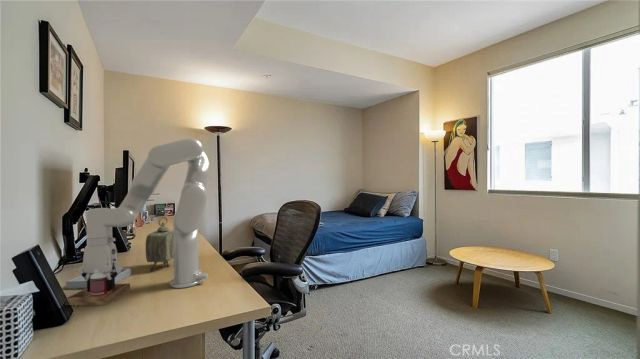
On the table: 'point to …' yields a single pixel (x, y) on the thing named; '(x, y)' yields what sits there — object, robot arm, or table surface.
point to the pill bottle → (98, 284)
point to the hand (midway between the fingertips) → (101, 289)
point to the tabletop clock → (160, 245)
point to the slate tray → (82, 284)
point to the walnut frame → (82, 300)
